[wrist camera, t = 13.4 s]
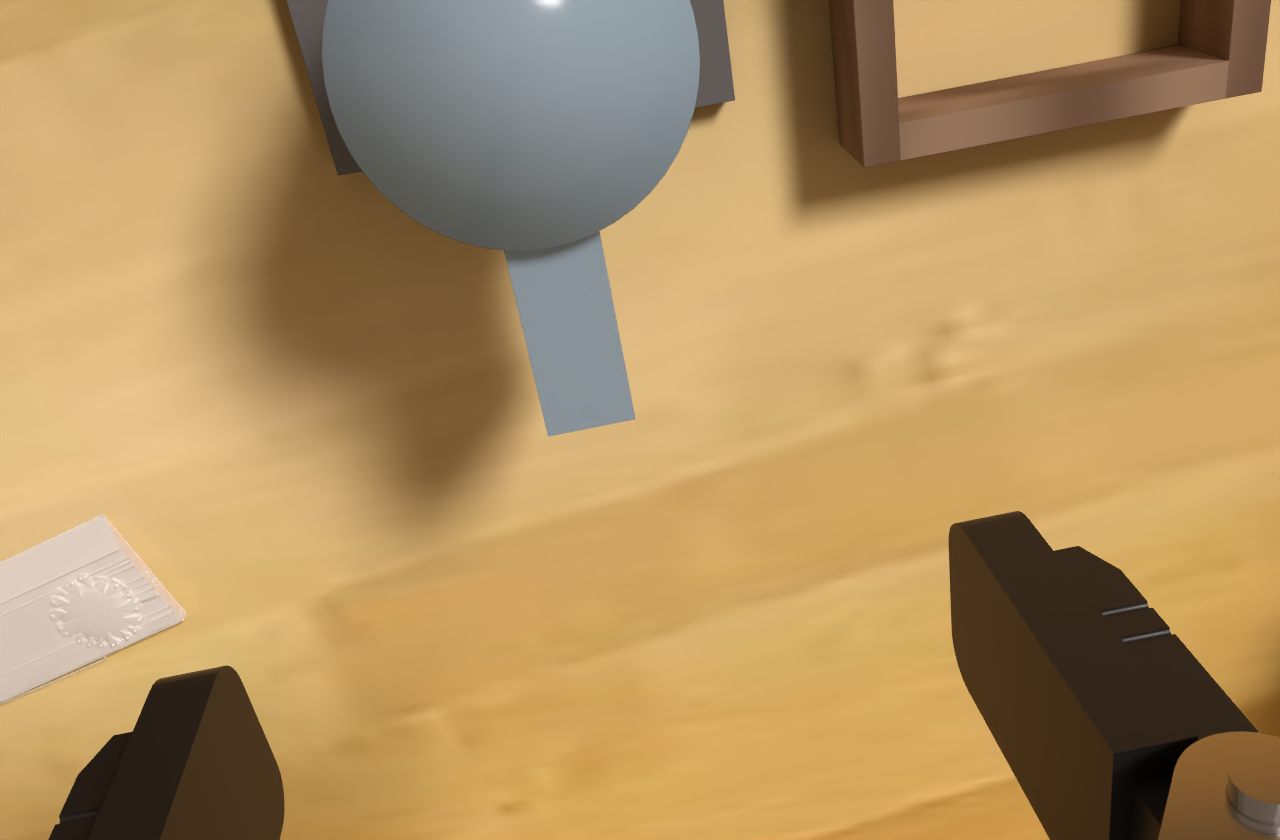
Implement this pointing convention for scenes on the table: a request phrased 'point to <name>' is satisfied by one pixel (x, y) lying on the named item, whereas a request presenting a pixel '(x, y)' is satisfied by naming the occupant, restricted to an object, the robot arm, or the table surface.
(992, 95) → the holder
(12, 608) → the white plastic strip tool
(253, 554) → the table surface
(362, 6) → the jug
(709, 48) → the mat
